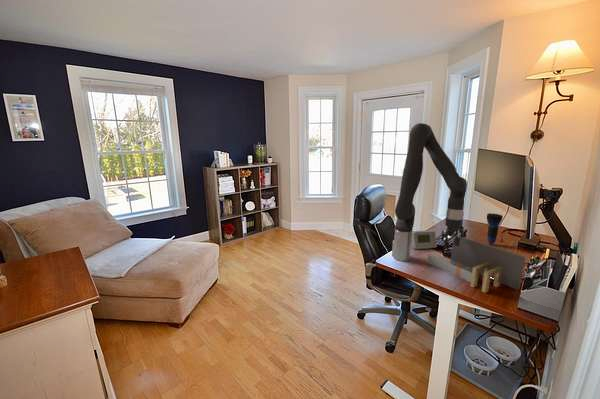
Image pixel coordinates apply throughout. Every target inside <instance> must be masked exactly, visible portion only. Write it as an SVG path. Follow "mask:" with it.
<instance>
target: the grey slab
mask: <svg viewBox="0 0 600 399" xmlns="http://www.w3.org/2000/svg"><path fill="white" fill-rule="evenodd" d="M427 264H429V265H431V266H433V267H436V268H438V269H440V270H442V271H445V272H447V273H449V274H450V275H453V276H455V277H458V278H460V279H462V280H464V281H466V282H469V283H471V276H472V270H473V268H471V267H468V266H466V265H464V264H461V263H458V262H456V261H453V260H451V258H448V257H445V256H443V255H441V254H438V253H436V252H432V253H429V254H427ZM479 276H480V274H479V273H478V277H479Z"/></svg>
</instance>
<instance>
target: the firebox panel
mask: <svg viewBox="0 0 600 399" xmlns="http://www.w3.org/2000/svg"><path fill="white" fill-rule="evenodd" d="M454 241H455V237H453V238H452V245H451V247H452V248H451V252H450V253H451V254H450V259H451V260H453V261H456V262H458V263H461V264H464V265H466V266H468V267H471V268H473V267H475V266H478V265H480V264H483V263H485V262H490V263H491V266H490V270H491V269H493V268H495V267H498V266H501V267H503V269H502V275H501V281H500V284H503V285H505V286H508V287H509V288H512V289H515V290H517V291H518V290H520V288H521V283H522V278H523V271H524V268H525V267H524V266H525V263H526V256H525V255H522V254H518V253H515V252H512V251H508V250H505V249H501V248H499V247H496V246H493V245H490V244H486V243H484V242H480V241H477V240H474V239H470V238H468V237H464V236H463V237H461V239H460V242H459V246H455V245H454ZM479 275H481V276H483V270H481V271H479ZM491 277H492V278H495V275H492V276H491Z"/></svg>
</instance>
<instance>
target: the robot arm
mask: <svg viewBox="0 0 600 399" xmlns="http://www.w3.org/2000/svg"><path fill="white" fill-rule="evenodd" d="M408 137H409V140H408V151H407V154H406V159H405V163H404V167H403V171H402V177H401V182H400V190H399V196H398V200H397V202H396V204H395V205H396V206H395V209H394V214H395V216H396V222H395V226H394V239H393V240H392V249H391V256H392V257H393V258H394V260H396V261H401V262H407V261H410V259H411V252H412V232H413V231H414V230H413V229H414V224H415V216H416V215H415V214H416V207H415V205H414V197H415V194H416V193H417V191H418V190H417V189H418V188H419V185H420V182H421V179H422V175H423V170H424V156H423V154H424V149H425V150H426V151H427V154H429V157H430V159H431V161H432V163H433V165H434V166H435V168H436V170H437V171H438V172H439V174H440V175H441V176H442V179H443V180H444V182H445V184H446V186H447V188H448V189H449V190H450V192H449V193H450V194H449V197H448V200H447V207H446V208H447V209H446V213H445V223H444V224H445V226H446V229H442V232H441V238H440V239H441V242H443V249H444V250H449V248H450V242H451V240H453V237H455V241H454V245H455V246H459V242H460V239H461V237H464V231H465V230H464V229H465V228H464V226H463V225H464V224H463V223H464V214H465V212H464V208H465V198H466V193H467V189H468V188H467V187H468V182H467V180H466V179H465V178H464V177H462V176H460V175H459V173H458V172H457V168H456V166H455V165H454V163H453V162H452V161H451V159H450V157H449V156H448V155H447V153H446V152H445V151H444V150H443V148H442V146H441V145H440V143H439V142H438V140H437V138H436V135H435V134H434V131H433V129H432V127H431V126H430V125H429V124H427V123H422V122H421V123H420V122H419V123H416V124H414V125H413V126H412V127H411V128H410V131H409V136H408Z"/></svg>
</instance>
